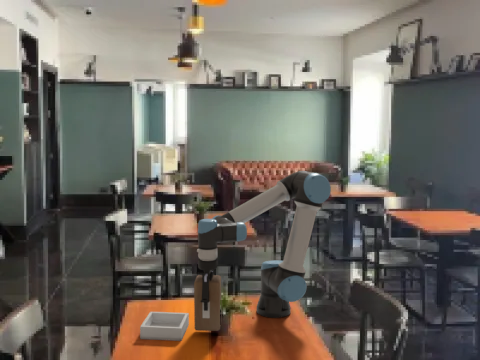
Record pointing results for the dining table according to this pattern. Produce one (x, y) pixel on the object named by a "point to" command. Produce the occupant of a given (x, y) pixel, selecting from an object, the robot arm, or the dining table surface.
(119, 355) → the dining table surface
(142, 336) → the tray
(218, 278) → the block
